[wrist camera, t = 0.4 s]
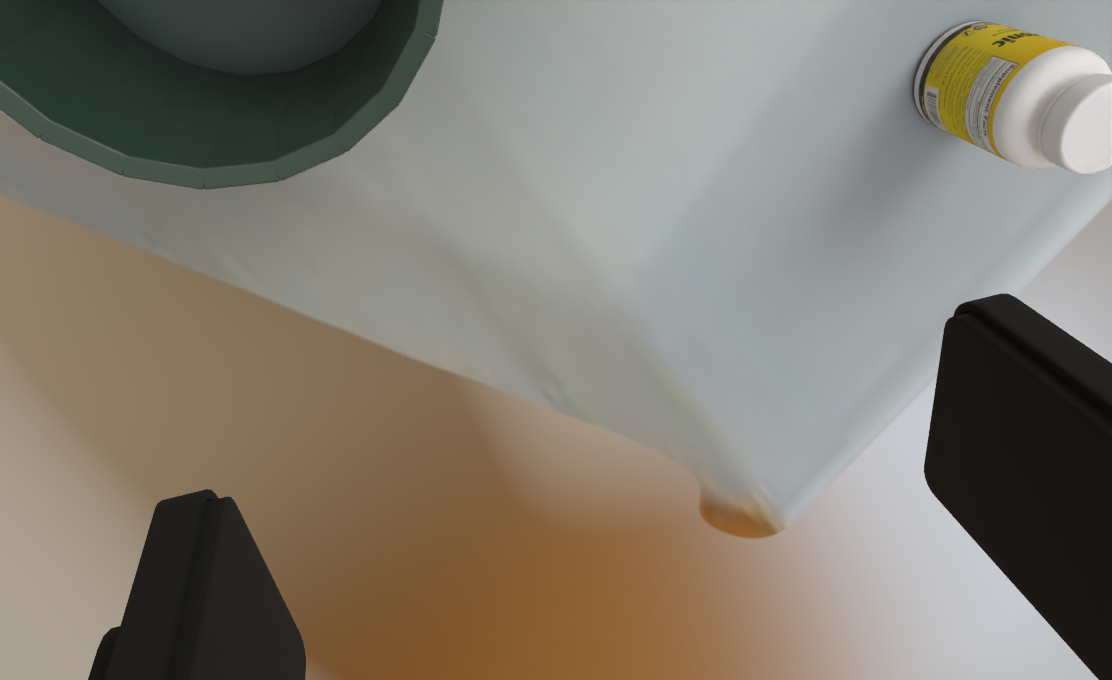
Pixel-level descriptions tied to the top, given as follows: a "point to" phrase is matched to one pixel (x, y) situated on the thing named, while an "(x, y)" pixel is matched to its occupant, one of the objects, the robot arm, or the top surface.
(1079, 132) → the supplement bottle
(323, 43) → the tin
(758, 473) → the top surface
